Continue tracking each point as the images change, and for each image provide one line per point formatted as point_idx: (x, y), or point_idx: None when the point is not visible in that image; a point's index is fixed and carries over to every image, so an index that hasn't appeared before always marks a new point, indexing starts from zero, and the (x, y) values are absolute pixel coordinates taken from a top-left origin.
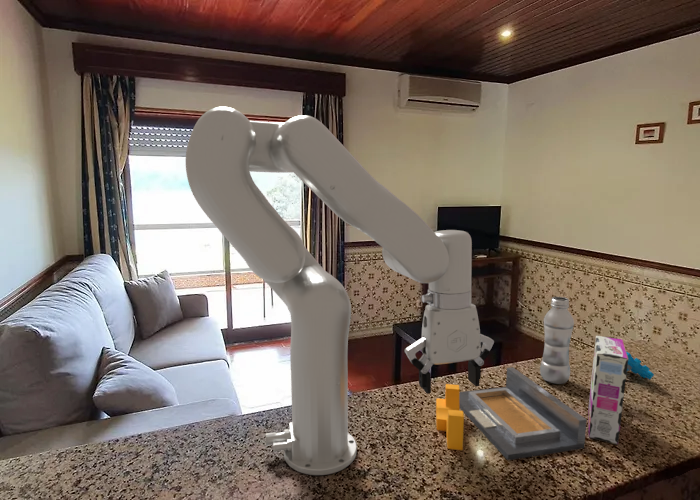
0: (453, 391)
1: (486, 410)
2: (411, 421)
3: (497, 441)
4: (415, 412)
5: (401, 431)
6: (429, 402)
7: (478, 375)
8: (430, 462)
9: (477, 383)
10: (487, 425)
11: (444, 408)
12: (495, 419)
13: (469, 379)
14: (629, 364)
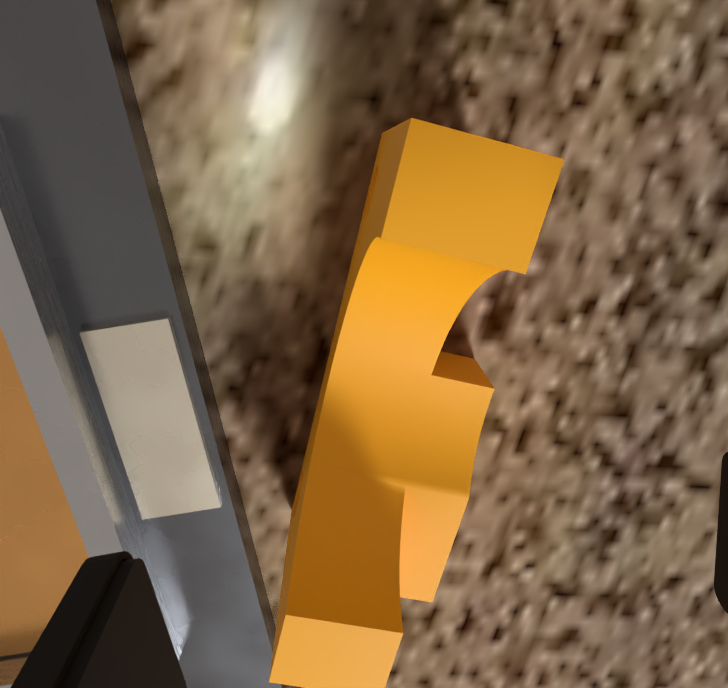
0: (339, 603)
1: (104, 484)
2: (593, 450)
3: (122, 152)
4: (538, 535)
5: (690, 355)
6: (422, 625)
7: (31, 678)
8: (637, 10)
9: (101, 574)
10: (143, 340)
11: (416, 482)
12: (67, 376)
13: (177, 682)
14: None
